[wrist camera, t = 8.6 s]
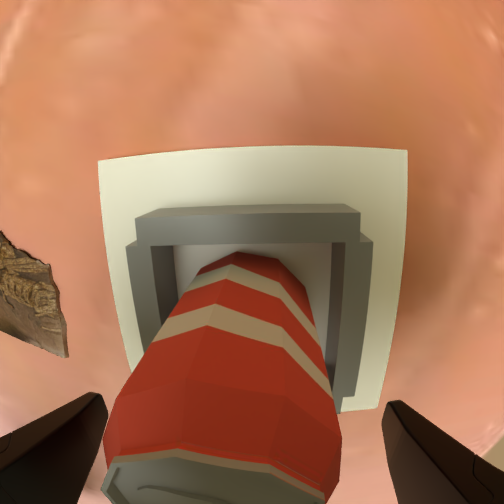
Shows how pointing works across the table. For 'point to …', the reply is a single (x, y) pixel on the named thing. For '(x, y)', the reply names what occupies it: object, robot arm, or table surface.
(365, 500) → the table surface
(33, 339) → the brown fossil slab
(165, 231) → the can holder
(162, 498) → the beverage can
